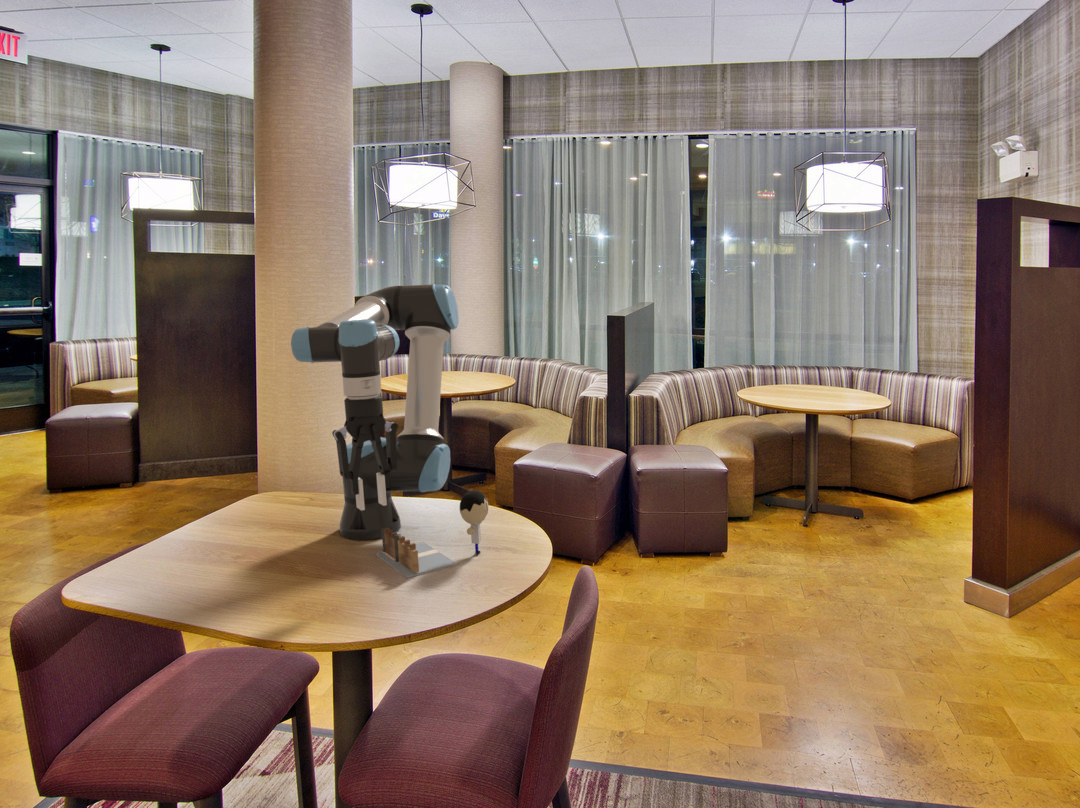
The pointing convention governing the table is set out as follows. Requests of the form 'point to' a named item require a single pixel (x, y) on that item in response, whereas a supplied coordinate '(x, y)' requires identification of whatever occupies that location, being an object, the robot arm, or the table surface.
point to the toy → (474, 514)
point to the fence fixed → (390, 542)
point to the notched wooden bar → (408, 554)
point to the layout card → (420, 561)
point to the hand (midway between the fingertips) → (371, 506)
